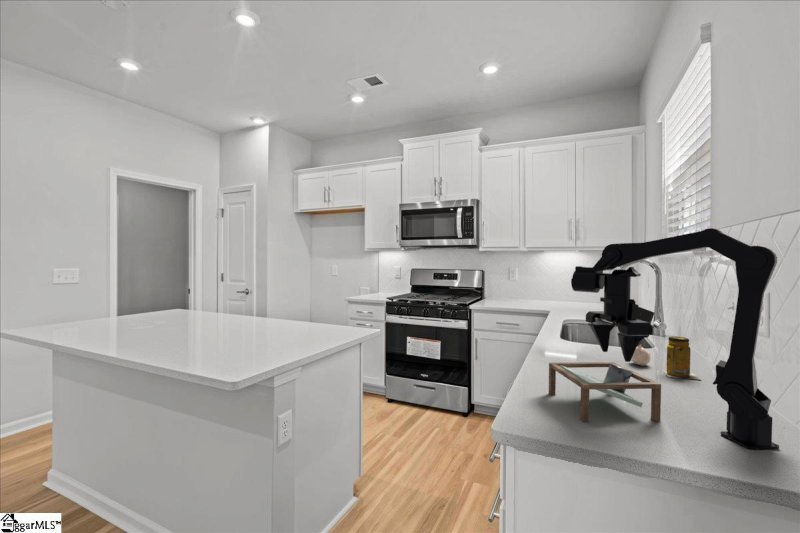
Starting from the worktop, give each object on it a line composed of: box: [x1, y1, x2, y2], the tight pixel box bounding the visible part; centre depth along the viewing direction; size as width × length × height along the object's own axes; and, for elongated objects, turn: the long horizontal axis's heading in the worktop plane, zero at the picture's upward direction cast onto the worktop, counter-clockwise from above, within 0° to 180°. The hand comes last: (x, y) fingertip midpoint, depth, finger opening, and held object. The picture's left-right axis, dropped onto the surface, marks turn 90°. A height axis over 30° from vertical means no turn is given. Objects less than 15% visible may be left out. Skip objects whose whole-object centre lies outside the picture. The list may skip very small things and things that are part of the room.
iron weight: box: [603, 363, 632, 394], centre depth 95 cm, size 5×5×6 cm
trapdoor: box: [560, 365, 643, 408], centre depth 95 cm, size 14×14×1 cm
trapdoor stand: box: [548, 361, 662, 423], centre depth 95 cm, size 18×18×8 cm
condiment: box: [662, 335, 702, 381], centre depth 120 cm, size 7×8×12 cm
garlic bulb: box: [631, 343, 652, 367], centre depth 132 cm, size 7×6×8 cm
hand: (615, 356), depth 95 cm, fingers open, 9 cm apart
